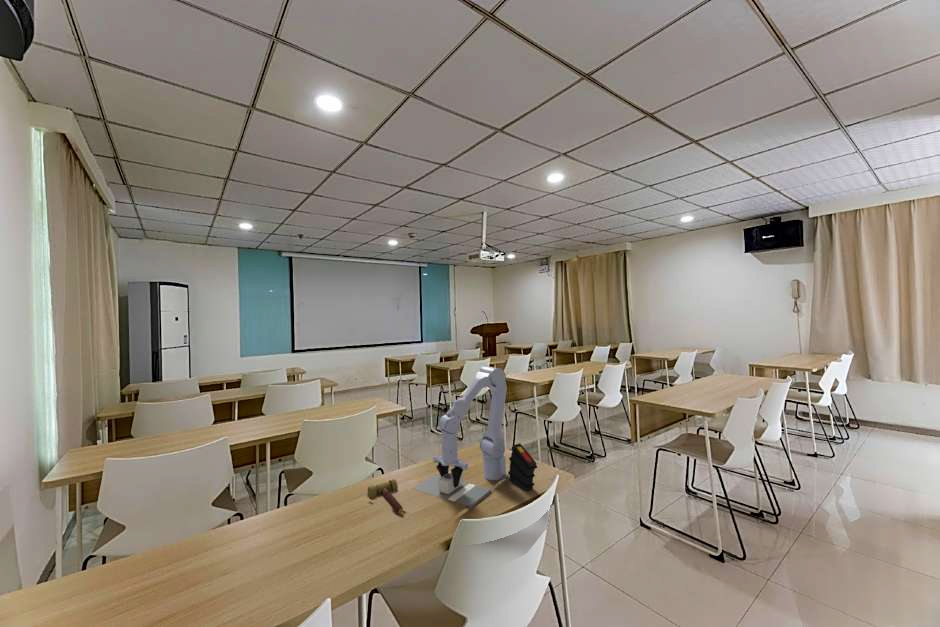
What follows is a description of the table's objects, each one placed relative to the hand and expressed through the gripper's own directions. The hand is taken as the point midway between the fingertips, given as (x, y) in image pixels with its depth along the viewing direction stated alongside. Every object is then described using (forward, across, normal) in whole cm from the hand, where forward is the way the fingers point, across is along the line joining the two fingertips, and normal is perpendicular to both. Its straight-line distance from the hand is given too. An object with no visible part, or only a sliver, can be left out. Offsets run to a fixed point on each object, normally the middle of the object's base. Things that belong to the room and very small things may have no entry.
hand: (450, 484), depth 142 cm
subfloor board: (+2, 0, 0) cm, 3 cm away
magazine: (+3, +21, +17) cm, 27 cm away
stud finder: (+1, 0, 0) cm, 1 cm away
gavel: (+3, -13, -18) cm, 22 cm away
